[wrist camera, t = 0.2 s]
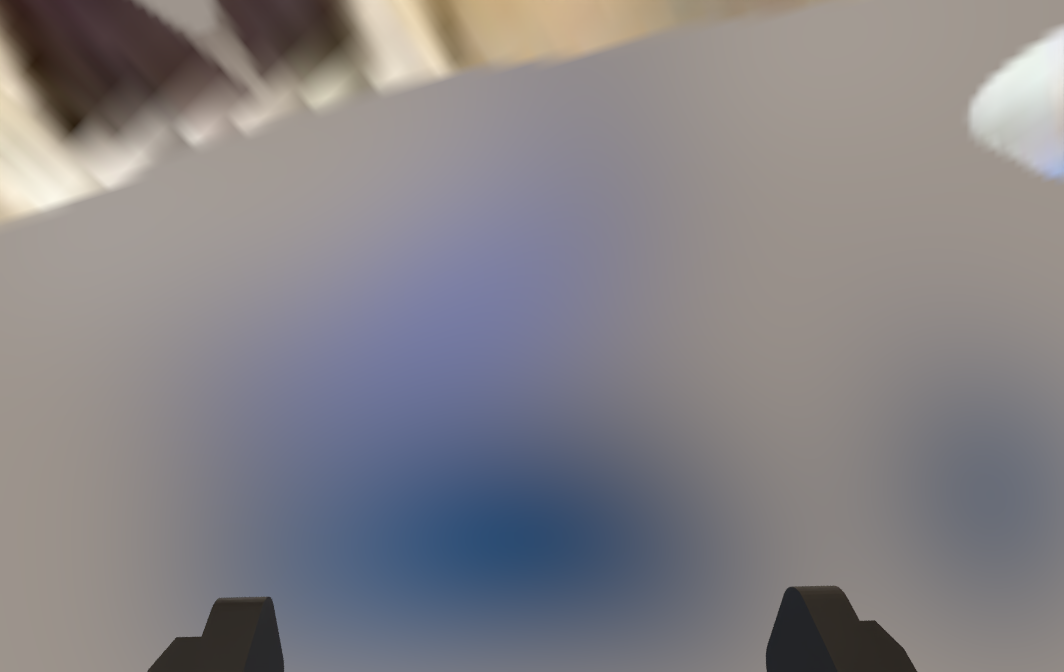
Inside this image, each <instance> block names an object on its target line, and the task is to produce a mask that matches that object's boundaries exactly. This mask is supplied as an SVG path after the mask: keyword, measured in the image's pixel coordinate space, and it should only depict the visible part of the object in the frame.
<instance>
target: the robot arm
mask: <svg viewBox="0 0 1064 672" xmlns="http://www.w3.org/2000/svg"><path fill="white" fill-rule="evenodd" d="M766 668H767V672H917V671H916V669H915V667H914V665H913V664H912V662H911V660H910V659H909V657H908V655H907V653H906V652H905V650H904V649H903V647H901V646H900V645H899V644H898V643H897V642H896V641H895V640H894V639H893V638H892V637H891V636H890V635H889V634H888V633H887V632H886V631H885V630H884V629H883V628H882V627H881V626H880V625H879V624H878V623H877V622H876V621H859V619H858V617H857V615H856V613H855V611H854V610H853V608H852V606H851V604H850V602H849V600H848V598H847V597H846V595H845V593H844V592H843V591H842V590H841V589H840V588H839V587H837V586H805V587H803V586H802V587H789V588H788V589H787V590H786V591H785V593H784V596H783V599H782V602H781V605H780V608H779V611H778V615H777V618H776V621H775V624H774V627H773V630H772V633H771V636H770V639H769V642H768V646H767V651H766ZM148 672H284V660H283V654H282V649H281V643H280V638H279V632H278V627H277V621H276V616H275V610H274V605H273V601H272V599H271V597H239V598H238V597H236V598H219V599H217V600H216V602H215V603H214V605H213V607H212V610H211V612H210V615H209V618H208V621H207V623H206V626H205V629H204V631H203V634H202V637H177V638H175V640H174V641H173V642H172V643H171V644H170V646H169V647H168V648H167V649H166V650H165V651H164V652H163V653H162V655H161V656H160V657H159V658H158V659H157V660H156V662H155V663H154V664H153V665H152V666H151V668H150V669H149V670H148Z"/></svg>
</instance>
